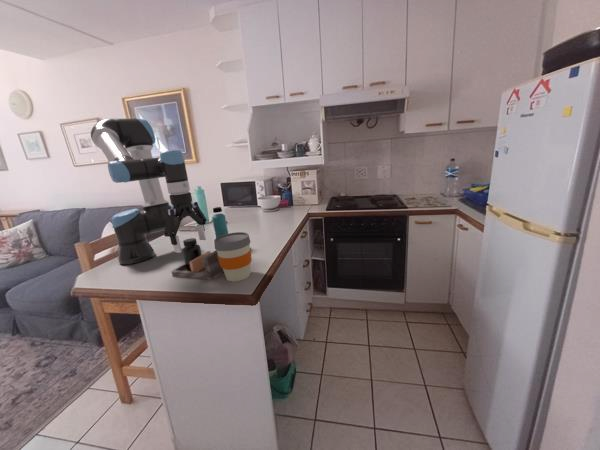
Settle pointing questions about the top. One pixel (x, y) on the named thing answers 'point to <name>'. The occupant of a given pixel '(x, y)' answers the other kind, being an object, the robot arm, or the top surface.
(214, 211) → the beverage bottle
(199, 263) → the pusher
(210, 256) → the grey stand
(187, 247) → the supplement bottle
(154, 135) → the robot arm
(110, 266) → the top surface
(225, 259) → the reusable coffee cup
